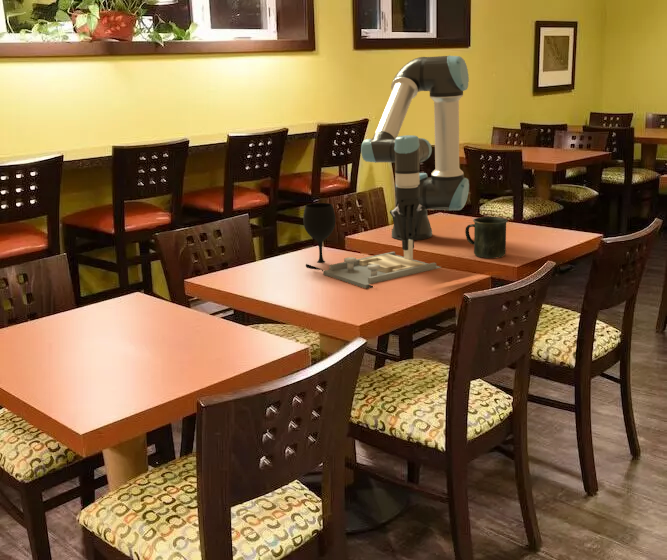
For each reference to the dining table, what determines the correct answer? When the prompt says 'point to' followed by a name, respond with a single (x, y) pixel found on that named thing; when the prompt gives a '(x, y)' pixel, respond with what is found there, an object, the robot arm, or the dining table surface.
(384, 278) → the board
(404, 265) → the panel
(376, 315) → the dining table surface
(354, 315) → the dining table surface
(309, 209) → the wine glass
